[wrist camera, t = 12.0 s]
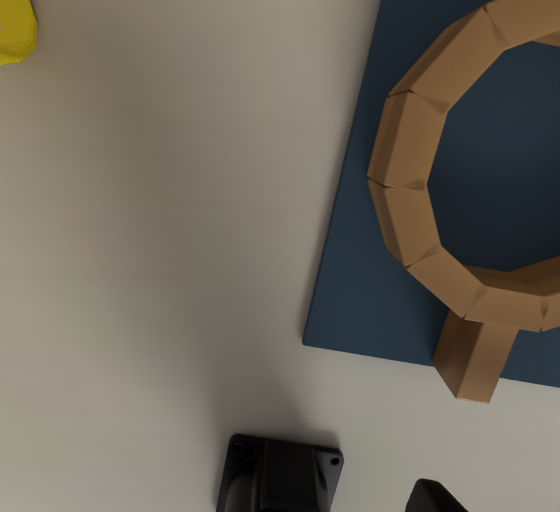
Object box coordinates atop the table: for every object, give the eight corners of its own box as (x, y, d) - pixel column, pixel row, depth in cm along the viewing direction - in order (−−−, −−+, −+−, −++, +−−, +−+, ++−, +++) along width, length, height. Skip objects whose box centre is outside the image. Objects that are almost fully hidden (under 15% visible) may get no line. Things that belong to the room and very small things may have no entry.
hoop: (562, 383, 21) (606, 423, 18) (324, 344, 20) (331, 379, 18) (722, 36, 16) (818, 17, 13) (418, -33, 16) (449, -70, 13)
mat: (573, 385, 22) (579, 391, 21) (301, 340, 21) (302, 345, 20) (777, -41, 16) (792, -47, 15) (411, -131, 15) (415, -140, 14)
